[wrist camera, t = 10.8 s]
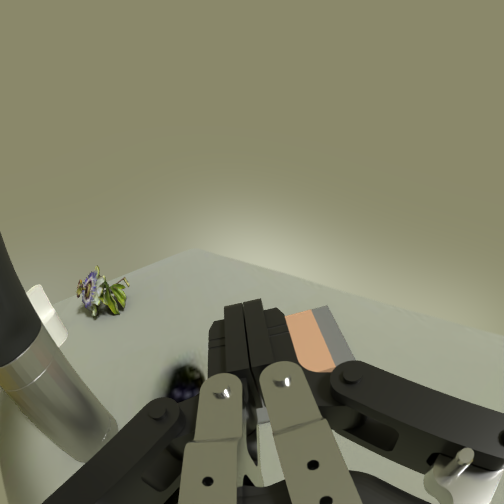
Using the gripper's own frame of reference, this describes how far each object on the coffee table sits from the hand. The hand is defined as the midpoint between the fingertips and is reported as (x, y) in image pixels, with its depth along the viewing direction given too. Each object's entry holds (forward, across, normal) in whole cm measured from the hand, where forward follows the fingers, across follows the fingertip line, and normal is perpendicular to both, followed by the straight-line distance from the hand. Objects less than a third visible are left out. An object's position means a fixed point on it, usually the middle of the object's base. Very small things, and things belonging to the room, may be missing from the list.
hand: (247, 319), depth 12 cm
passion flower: (+43, +34, +24) cm, 60 cm away
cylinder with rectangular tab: (+33, +47, +24) cm, 62 cm away
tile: (+12, -2, +21) cm, 24 cm away
